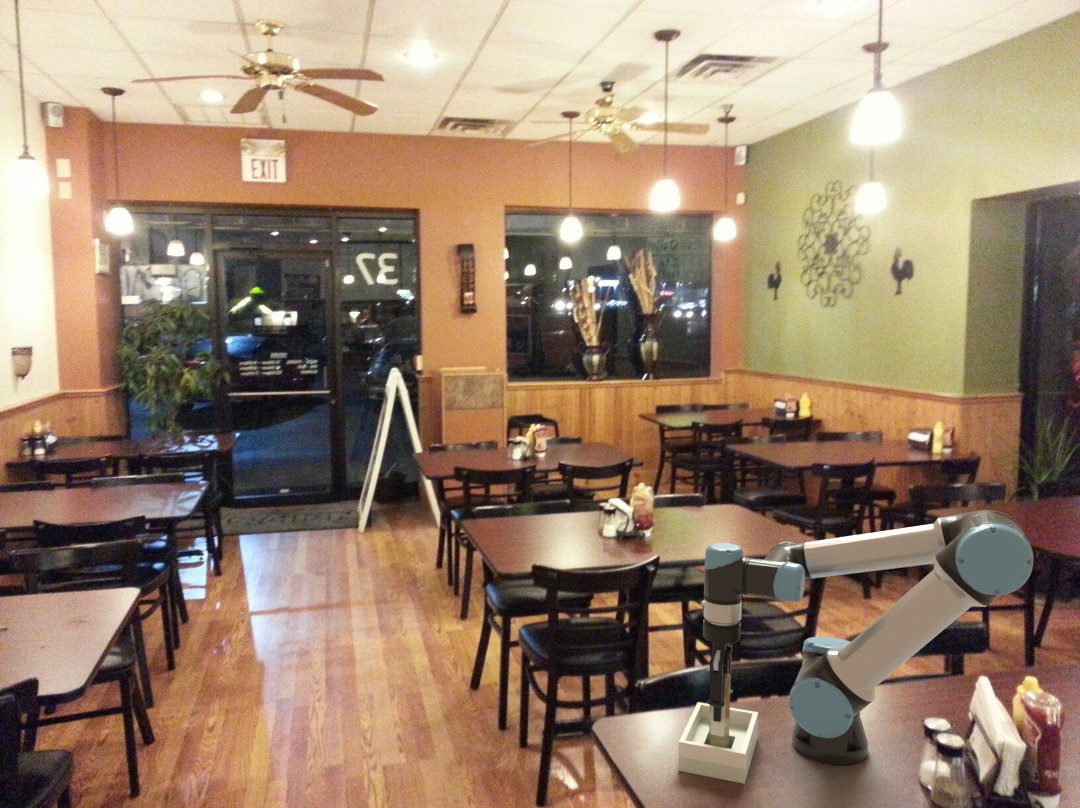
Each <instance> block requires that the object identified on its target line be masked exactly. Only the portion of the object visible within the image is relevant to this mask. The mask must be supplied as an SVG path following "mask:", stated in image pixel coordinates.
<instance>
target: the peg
mask: <svg viewBox="0 0 1080 808" xmlns="http://www.w3.org/2000/svg"><path fill="white" fill-rule="evenodd" d="M730 689H731V686H730V675H729V674H728V673H726V675H725V694H724V704H725V735H724V737H723V736H718V735H712V734H711V706H710V725H709V745H712V746H718V747H723V748H728V749H729V717H730V708H731V705H730V704H731V694H730Z"/></svg>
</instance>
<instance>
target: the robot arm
mask: <svg viewBox="0 0 1080 808" xmlns="http://www.w3.org/2000/svg"><path fill="white" fill-rule="evenodd" d="M1033 551H1034V550H1033V548H1032V546H1031V543H1030V541H1029V539H1028V538H1027V536H1026V533H1025V530H1024V528H1022V526H1021V524H1019V522H1018V521H1017V520H1016V519H1015V518H1013V517H1012V516H1010V515H1008V514H1006V513H1004V512H1001V511H998V510H993V509H983V510H980V509H979V510H976V511H969V512H965V513H959V514H954V515H948V516H941V517H938V518H937V519H936V520H935V521H934V522H933V523H929V524H922V525H917V526H909V527H903V528H894V529H888V530H882V531H875V532H869V533H861V534H854V535H848V536H840V537H834V538H827V539H821V540H813V541H806V542H800V543H794V542H792V541H782V542H779V543H777V544H775V545H774V546H772V547H771V549H770V550H769V551H768V553H767V555H766V556H765V557H764V559H761V558H752V557H748V556H744V553H743V548H742V547H741V546H739V544H738V545H737V544H733V543H729V542H716V543H712V544H709V545H708V546H707V547H706V549H705V555H704V556H705V557H704V566H703V575H704V576H703V577H704V579H703V581H704V582H703V584H704V585H703V587H704V588H703V589H704V591H703V600H702V601H701V602H700V605H701V606H702V607H703V617H704V619H703V622H702V627H703V628H702V636H703V638H704V640H706V641H708V642H711V643H712V647H711V648H710V650H709V657H710V659H709V661H708V662H709V663H708V664H709V700H707V702H706V704H709V705H710V706H711V734H712V735H718V736H723V737H724V735H725V704H724V694H725V675H726V673H728V674H729V675H730V687H731V686H732V682H731V681H732V679H731V677H732V653H733V644H736V643H738V642H739V641H740V640H741V629H742V627H741V626H742V625H741V624H742V623H741V622H740V621H741V620H742V596H748V597H755V598H760V599H766V600H767V599H768V600H775V601H779V602H792V603H793V602H795V603H798V602H800V601H801V600H802V598H803V597H804V592H805V586H806V585H805V584H806V583H805V582H806V580H812V579H817V578H818V579H819V578H826V577H833V576H834V577H835V576H843V575H851V574H858V573H866V572H867V573H868V572H875V571H883V570H891V569H899V568H908V567H916V566H924V565H932V564H933V569H932V570H931V571H930V572H929V573H928V574H926V576H924V577H923V578H922V579H921V580H920V581H919V582H918V583H917V584H915V585H914V586H913V587H912V588H910V590H909V591H907V592H906V593H905V594H904V595H902V597H900V598H899V599H898V600H897V601H896V602H895V603H894V604H893V605H891V606H890V607H889V608H888V609H887V610H886V611H884V613H882V614H881V615H880V616H879V617H877V619H876V620H874V621H873V622H872V623H871V624H869V626H867V628H865V629H864V630H863V631H862V632H861V633H860V634H858V635H857V636H856V637H854V639H852V640H851V641H849V640H846V639H843V638H837V637H830V636H813V637H808V638H806V639H805V640H804V642H803V647H802V649H801V650H802V651H801V652H802V665H801V667H800V670H799V671H798V673H797V674H798V675H797V677H796V679H795V682H794V684H793V685H792V686H791V688H790V692H789V699H788V701H789V702H788V703H789V709H790V710H789V711H790V713H791V715H792V718H793V719H794V721H795V723H794V725H793V728H792V734H791V735H792V737H791V743H792V746H793V747H794V749H795V750H796V751H797V752H798V753H799V754H802V755H803V756H804V757H806V758H807V759H811V760H813V761H815V762H820V763H823V764H829V765H833V766H834V765H836V766H846V765H849V766H851V765H854V764H855V765H856V764H859V763H861V762H863V761H864V760H865V759H866V758H867V757H868V754H869V753H868V752H869V742H868V737H867V735H866V731H865V728H864V724H863V721H862V718H861V712H862V711H863V710H864V709H865V708H866V707H868V705H870V704H872V702H873V701H875V699H876V687H877V686H878V685H879V684H881V683H882V682H883V681H885V680H886V679H887V678H888V677H889V676H890V675H891V674H893V673H894V672H895V671H896V670H897V669H899V668H900V667H901V666H902V665H904V664H905V663H906V662H907V661H908V660H909V659H911V658H912V657H913V656H915V654H917V653H918V652H919V651H920V650H921V649H923V648H924V647H925V646H926V645H927V644H929V643H930V642H931V641H932V640H933V639H935V637H937V636H938V635H939V634H940V633H942V632H943V631H944V630H945V629H947V627H948V626H950V625H951V624H952V623H954V622H955V621H956V620H957V619H958V618H960V616H962V615H963V614H964V613H965V612H966V611H968V610H969V609H971V608H972V607H981V608H983V607H984V608H986V607H988V606H989V605H990V604H991V603H993V601H995V600H996V599H998V598H999V597H1000V596H1002V595H1008V594H1011V593H1014V592H1016V591H1017V590H1019V589H1020V588H1021V587H1022V586H1023V585H1025V584H1026V582H1027V581H1028V579H1029V578H1030V576H1031V574H1032V572H1033V566H1034V552H1033ZM733 691H734V689H731V688H730V695H733V693H734V692H733Z"/></svg>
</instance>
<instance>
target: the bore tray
mask: <svg viewBox="0 0 1080 808" xmlns="http://www.w3.org/2000/svg"><path fill="white" fill-rule="evenodd" d="M709 725H710V705H709V704H707V702H706V703H705V702H701V701H700V702H699V701H697V702H696V705H695V706H694V709H693V711H692V713H691V715H690V718H689V720H688V721H687V724H686V726H685V728H684V730H683V732H682V735H681V737H680V739H679V741H678V771H679V772H684V773H688V774H689V773H690V774H694V775H700V776H703V777H709V778H712V779H719V780H723V781H728V782H733V783H739V784H743V785H745V784H746V781H747V777H748V774H749V770H750V767H751V763H752V761H753V760H752V759H753V756H754V753H755V749H756V746H757V742H758V737H759V736H758V734H759V732H758V731H759V712H758V711H752V710H747V709H741V708H734V707H730V717H729V749H728V748H723V747H718V746H712V745H709Z"/></svg>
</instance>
